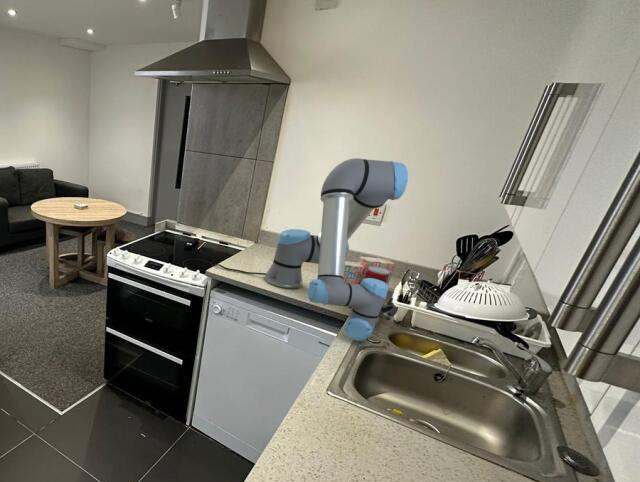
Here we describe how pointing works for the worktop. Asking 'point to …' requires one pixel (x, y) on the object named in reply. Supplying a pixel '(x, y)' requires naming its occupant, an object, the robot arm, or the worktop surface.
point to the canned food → (377, 273)
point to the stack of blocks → (365, 269)
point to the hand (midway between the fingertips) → (377, 297)
